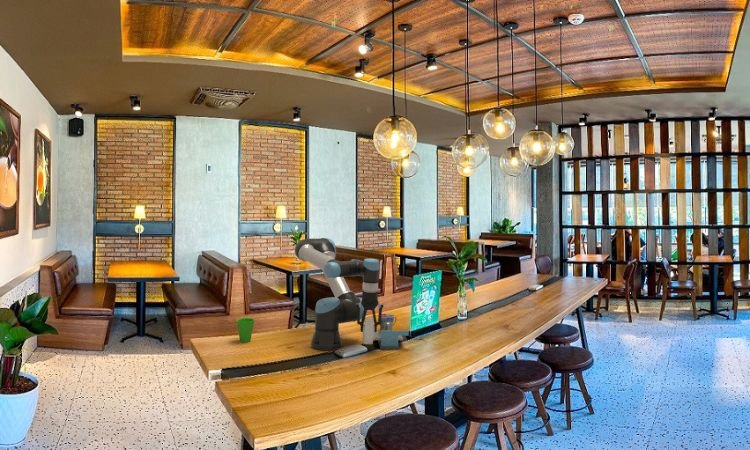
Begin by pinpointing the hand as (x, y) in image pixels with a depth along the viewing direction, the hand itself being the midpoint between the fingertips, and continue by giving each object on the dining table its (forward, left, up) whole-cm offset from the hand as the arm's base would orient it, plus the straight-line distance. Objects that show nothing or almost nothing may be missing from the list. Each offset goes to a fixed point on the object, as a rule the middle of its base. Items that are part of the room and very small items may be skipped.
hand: (368, 338), depth 230 cm
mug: (+13, +28, -6) cm, 31 cm away
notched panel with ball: (+12, +10, -6) cm, 17 cm away
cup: (-61, +14, -6) cm, 63 cm away
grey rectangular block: (0, 0, -2) cm, 2 cm away
